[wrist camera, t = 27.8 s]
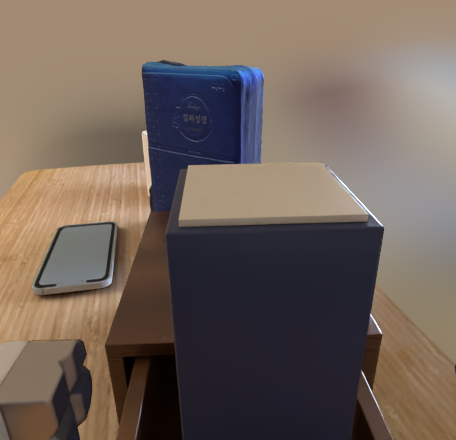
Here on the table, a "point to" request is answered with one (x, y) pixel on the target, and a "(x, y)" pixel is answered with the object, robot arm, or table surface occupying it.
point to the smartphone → (78, 259)
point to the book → (199, 120)
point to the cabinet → (165, 315)
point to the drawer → (170, 406)
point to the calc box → (269, 300)
